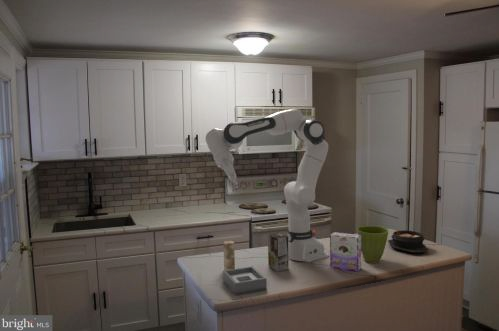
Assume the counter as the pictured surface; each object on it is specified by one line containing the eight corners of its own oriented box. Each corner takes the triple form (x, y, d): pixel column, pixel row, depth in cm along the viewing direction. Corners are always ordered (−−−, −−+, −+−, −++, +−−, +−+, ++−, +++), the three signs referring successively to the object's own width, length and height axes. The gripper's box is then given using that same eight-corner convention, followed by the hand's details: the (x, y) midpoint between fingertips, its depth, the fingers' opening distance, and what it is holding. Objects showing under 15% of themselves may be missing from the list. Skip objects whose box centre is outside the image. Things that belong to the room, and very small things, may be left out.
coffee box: (289, 269, 197) (288, 236, 196) (278, 271, 194) (277, 238, 192) (278, 263, 205) (278, 232, 204) (267, 266, 202) (267, 234, 200)
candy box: (361, 268, 196) (361, 234, 195) (358, 272, 191) (358, 237, 189) (333, 263, 203) (333, 231, 202) (329, 267, 198) (329, 234, 196)
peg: (232, 268, 199) (231, 240, 198) (234, 271, 196) (234, 242, 194) (224, 270, 198) (223, 241, 196) (226, 272, 194) (226, 243, 193)
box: (252, 276, 188) (252, 266, 188) (266, 289, 173) (266, 278, 173) (223, 281, 183) (223, 270, 183) (235, 295, 168) (235, 283, 168)
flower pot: (374, 254, 216) (374, 224, 215) (394, 262, 203) (395, 231, 201) (351, 258, 210) (351, 227, 209) (370, 267, 197) (370, 234, 195)
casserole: (379, 244, 234) (379, 229, 233) (408, 241, 239) (408, 226, 238) (406, 257, 210) (407, 241, 209) (437, 253, 215) (438, 238, 214)
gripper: (229, 153, 190) (242, 180, 188) (231, 160, 211) (243, 185, 209) (216, 159, 190) (229, 186, 188) (220, 166, 210) (232, 190, 208)
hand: (237, 185), depth 198 cm, fingers open, 8 cm apart
